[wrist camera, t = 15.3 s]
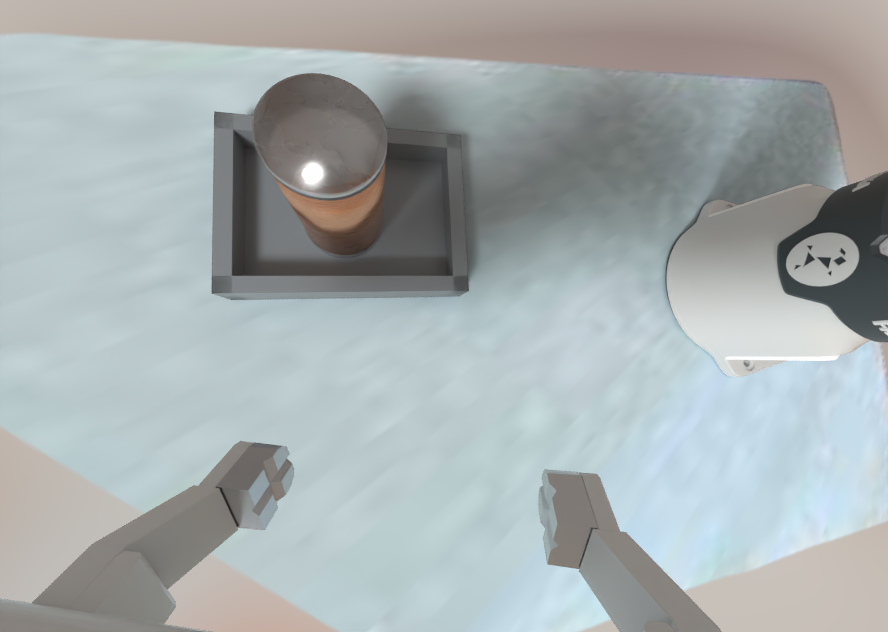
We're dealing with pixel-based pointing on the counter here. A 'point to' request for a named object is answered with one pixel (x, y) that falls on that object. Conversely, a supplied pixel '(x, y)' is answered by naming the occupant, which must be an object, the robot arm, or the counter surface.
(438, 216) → the tray
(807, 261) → the robot arm
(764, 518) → the counter surface
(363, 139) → the tin can
